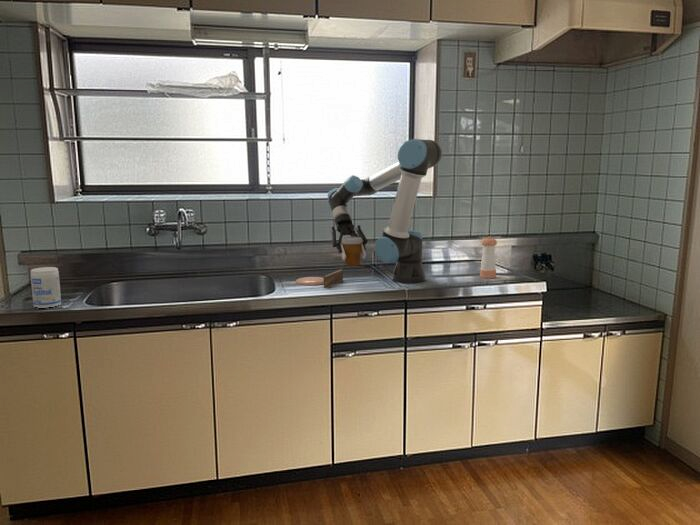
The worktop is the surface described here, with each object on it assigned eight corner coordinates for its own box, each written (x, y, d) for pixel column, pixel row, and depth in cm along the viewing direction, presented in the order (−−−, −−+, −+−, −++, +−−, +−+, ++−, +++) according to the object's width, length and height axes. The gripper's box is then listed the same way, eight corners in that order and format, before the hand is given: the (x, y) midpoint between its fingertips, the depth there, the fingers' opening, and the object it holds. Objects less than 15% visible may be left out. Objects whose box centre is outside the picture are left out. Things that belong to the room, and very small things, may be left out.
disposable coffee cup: (364, 262, 249) (363, 236, 247) (362, 266, 240) (361, 239, 238) (343, 263, 250) (342, 236, 248) (340, 266, 241) (339, 239, 239)
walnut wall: (342, 280, 255) (342, 269, 254) (326, 287, 241) (326, 276, 240) (340, 280, 256) (339, 269, 255) (323, 287, 241) (323, 276, 240)
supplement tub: (32, 310, 208) (27, 272, 205) (35, 304, 216) (30, 267, 213) (61, 307, 212) (57, 270, 209) (62, 301, 220) (58, 265, 217)
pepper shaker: (486, 279, 256) (488, 238, 253) (476, 276, 263) (478, 236, 259) (498, 277, 259) (500, 237, 255) (489, 274, 266) (490, 235, 262)
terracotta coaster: (334, 279, 256) (334, 278, 256) (318, 286, 243) (318, 285, 243) (306, 277, 263) (306, 275, 263) (289, 283, 249) (289, 282, 249)
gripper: (362, 222, 260) (375, 260, 248) (318, 224, 253) (329, 264, 241) (366, 211, 254) (379, 250, 242) (321, 213, 247) (333, 254, 235)
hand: (354, 257), depth 241 cm, fingers closed on disposable coffee cup, 9 cm apart
